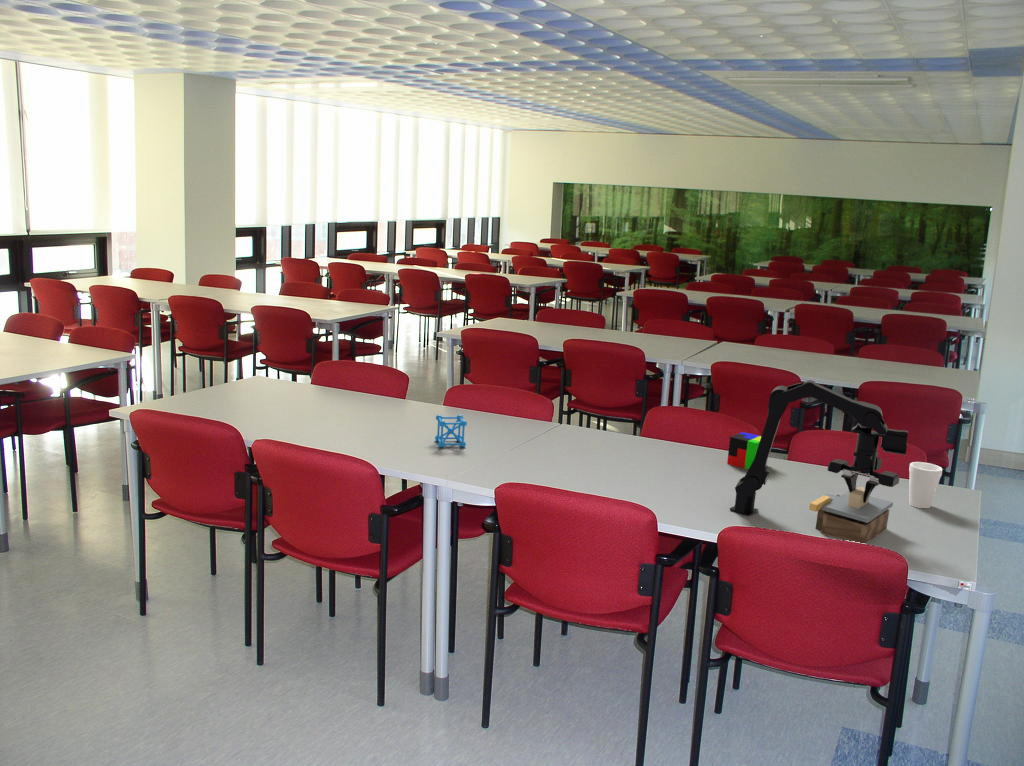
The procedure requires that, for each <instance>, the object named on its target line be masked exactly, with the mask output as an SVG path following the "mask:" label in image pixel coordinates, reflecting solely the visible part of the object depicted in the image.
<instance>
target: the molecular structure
mask: <svg viewBox="0 0 1024 766" xmlns="http://www.w3.org/2000/svg"><path fill="white" fill-rule="evenodd" d="M450 419H451V420H452V419H454V420H456V421H455V422H445V420H450ZM463 419H464V416H463V414H458V415H457V416H442V414H437V415H436V416H435V421H437V430H436V431H437V432H436V433H437V434H436V435H435V436H434V439H435V441H436V442H438V443H437V446H438V448H439V449H440V448H441V449H442V448H444V447H445V446H459V447H461V448H465V447H466V446H467V443H466V441H465V427H466V426H467V424H468V422H467V420H465V419H464V420H463ZM450 425H452V427H449V426H450ZM444 428H445V429H446V430H447V431H446V432H444ZM461 428H462V429H461ZM455 430H457V431H458V432H457V433H455ZM461 430H462V431H461ZM450 435H452V436H450ZM446 440H456V441H457V442H456V443H455V442H452V443H451V442H446Z"/></svg>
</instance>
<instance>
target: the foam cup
mask: <svg viewBox="0 0 1024 766" xmlns="http://www.w3.org/2000/svg"><path fill="white" fill-rule="evenodd" d="M908 471H909V479H908V481H909V485H908V486H909V487H908V489H909V490H908V501H909V502H908V504H909V505H910V506H911V505H912V507H913V506H914V508H916V507H917V508H918V509H921V508H929V509H931V508H932V505H933V501H934V498H935V495H936V492H937V489H938V487H939V483H940V479H941V477H942V476H943V468H942V467H941V466H939V465H938V464H937V465H936V464H934V463H930V462H922V461H913V462H910V463H909V468H908ZM930 507H931V508H930ZM917 508H916V509H917Z"/></svg>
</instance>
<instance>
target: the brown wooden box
mask: <svg viewBox="0 0 1024 766" xmlns="http://www.w3.org/2000/svg"><path fill="white" fill-rule="evenodd" d="M841 495H842V494H836V495H835V496H841ZM889 516H890V509H888V510H886V511H885V512H883V513H882V514H880V515H879V516H877V517H876V518H874V519H873V520H871V521H870V522H868V523H866V522H863V521H859V520H856V519H852V518H849V517H845V516H842V515H838V514H835V513H831V512H828V511H824V510H822V508H821V509H820V510H818V511H817V515H816V522H815V523H816V524H815V529H816V530H819V531H821V532H820V534H822V535H825V536H829V537H832V538H835V539H838V540H841V539H842V541H844V540H849V541H855V542H860V543H866V544H868V543H869V542H871V541H872V540H873V539H875V538H876V537H877V536H879V535H880V534H882V533H883V532H884V531H886V530H887V528H888V522H889Z"/></svg>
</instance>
